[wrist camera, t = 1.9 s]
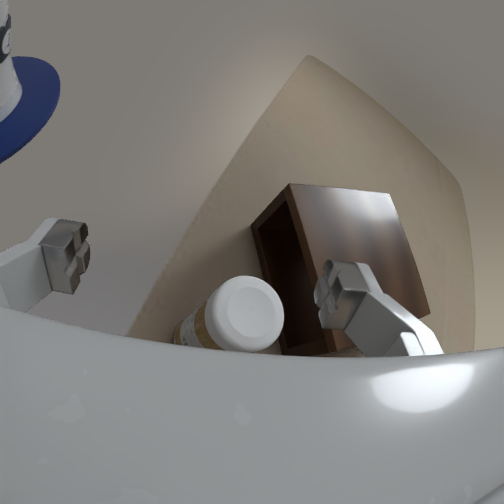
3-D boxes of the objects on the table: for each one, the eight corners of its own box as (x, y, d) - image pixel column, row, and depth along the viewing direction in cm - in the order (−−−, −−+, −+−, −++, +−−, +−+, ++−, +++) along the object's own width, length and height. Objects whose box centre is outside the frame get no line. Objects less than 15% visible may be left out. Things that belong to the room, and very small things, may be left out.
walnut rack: (283, 360, 31) (337, 351, 24) (250, 224, 36) (288, 182, 29) (379, 329, 39) (430, 313, 31) (347, 223, 44) (389, 193, 36)
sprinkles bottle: (224, 352, 29) (298, 332, 18) (183, 369, 27) (234, 365, 15) (206, 310, 30) (267, 264, 19) (164, 325, 28) (200, 287, 16)
